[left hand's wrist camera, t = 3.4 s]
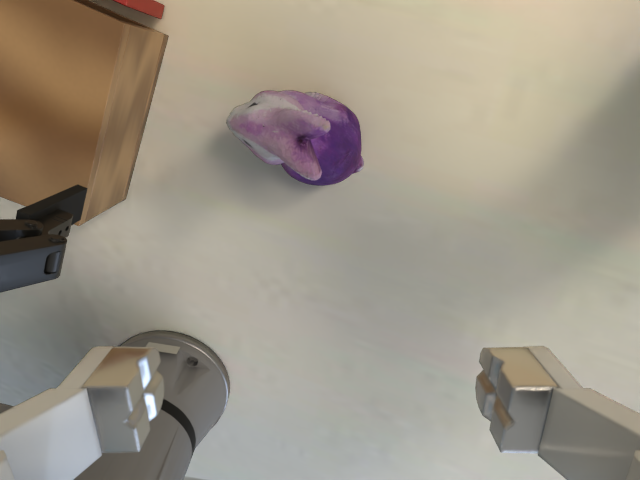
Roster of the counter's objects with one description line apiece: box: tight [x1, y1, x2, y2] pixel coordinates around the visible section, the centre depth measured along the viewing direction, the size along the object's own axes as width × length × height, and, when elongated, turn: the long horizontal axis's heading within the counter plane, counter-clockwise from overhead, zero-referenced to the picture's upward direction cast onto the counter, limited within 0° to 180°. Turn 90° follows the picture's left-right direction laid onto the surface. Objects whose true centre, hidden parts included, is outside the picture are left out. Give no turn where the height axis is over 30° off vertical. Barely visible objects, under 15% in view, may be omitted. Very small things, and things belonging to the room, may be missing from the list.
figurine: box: [226, 90, 364, 185], centre depth 35 cm, size 9×10×15 cm
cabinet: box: [0, 0, 168, 226], centre depth 37 cm, size 17×11×9 cm, turn 157°
